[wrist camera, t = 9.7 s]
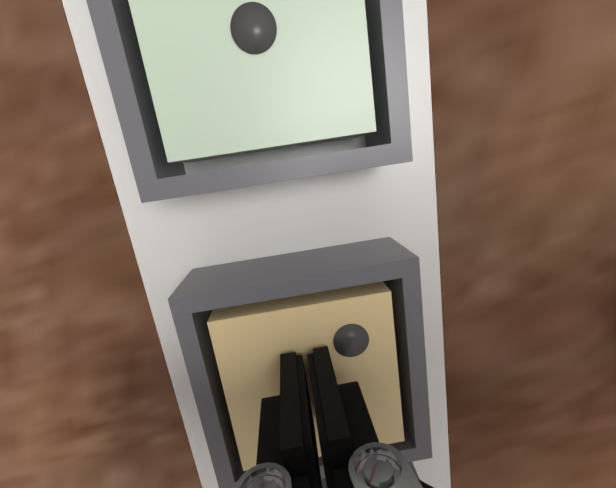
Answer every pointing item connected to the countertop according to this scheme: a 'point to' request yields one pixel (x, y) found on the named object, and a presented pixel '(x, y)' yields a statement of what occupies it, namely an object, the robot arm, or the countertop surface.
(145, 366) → the countertop surface
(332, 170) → the button panel
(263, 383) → the button
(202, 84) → the button
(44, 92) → the countertop surface
